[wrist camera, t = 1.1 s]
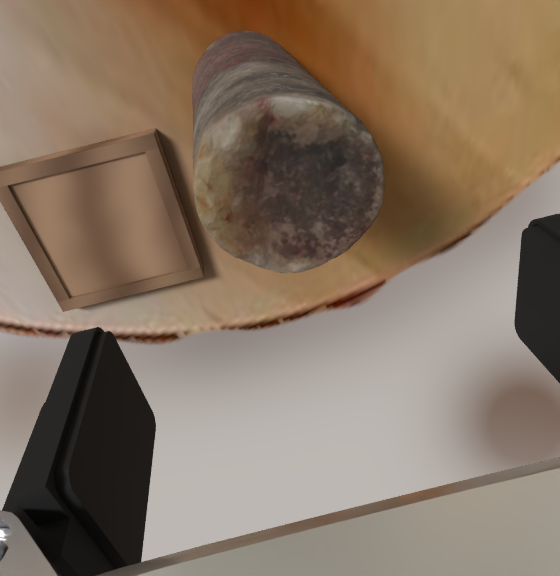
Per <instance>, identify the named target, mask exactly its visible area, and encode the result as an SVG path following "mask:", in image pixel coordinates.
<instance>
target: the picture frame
mask: <svg viewBox="0 0 560 576" xmlns="http://www.w3.org/2000/svg"><path fill="white" fill-rule="evenodd" d="M0 202H1V203H2V205H3V207H4V209H5V210H6V212H7V214H8V216H9V217H10V219H11V221H12V223H13V224H14V226H15V228H16V230H17V231H18V233H19V235H20V237H21V238H22V240H23V242H24V244H25V245H26V247H27V249H28V251H29V253H30V254H31V256H32V258H33V260H34V261H35V263H36V265H37V267H38V268H39V270H40V272H41V274H42V275H43V277H44V279H45V281H46V282H47V284H48V286H49V288H50V289H51V291H52V293H53V295H54V296H55V298H56V300H57V302H58V303H59V305H60V307H61V309H62V311H63V312H64V311H68V310H72V309H76V308H80V307H85V306H89V305H93V304H97V303H101V302H105V301H109V300H113V299H117V298H121V297H125V296H129V295H133V294H137V293H142V292H146V291H150V290H154V289H158V288H162V287H166V286H170V285H174V284H178V283H182V282H186V281H190V280H194V279H199V278H203V277H204V267H203V264H202V261H201V259H200V256H199V253H198V250H197V247H196V244H195V241H194V238H193V235H192V232H191V230H190V227H189V224H188V221H187V218H186V215H185V212H184V209H183V206H182V203H181V201H180V198H179V195H178V192H177V189H176V186H175V183H174V180H173V177H172V174H171V172H170V169H169V166H168V163H167V160H166V157H165V154H164V151H163V148H162V145H161V143H160V140H159V137H158V134H157V131H156V129H152V130H148V131H144V132H140V133H136V134H132V135H128V136H124V137H120V138H115V139H111V140H107V141H103V142H99V143H95V144H91V145H87V146H83V147H79V148H75V149H71V150H67V151H63V152H59V153H55V154H51V155H47V156H43V157H39V158H35V159H31V160H26V161H22V162H18V163H14V164H10V165H6V166H2V167H0Z"/></svg>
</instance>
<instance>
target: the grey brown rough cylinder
mask: <svg viewBox="0 0 560 576" xmlns="http://www.w3.org/2000/svg"><path fill="white" fill-rule="evenodd" d="M192 99H193V169H194V185H193V188H194V195H195V203H196V208H197V213H198V215H199V218H200V221H201V223H202V225H203V228H204V229H205V230H206V231H207V232H208V233H209V235H210V236H211V237H212V239H213V240H214V241H215V242H216V243H217V244H218V245H219V246H220V247H221V248H222V249H224V250H225V251H227V252H228V253H230V254H231V255H232V256H234V257H236V258H240V259H242V260H244V261H247V262H249V263H252V264H254V265H256V266H259V267H261V268H265V269H269V270H272V271H275V272H280V273H287V272H293V273H296V272H303V271H306V270H309V269H313V268H315V267H318V266H320V265H322V264H324V263H326V262H328V261H329V260H331V259H333V258H336V257H338V256H339V255H341V254H342V253H344V252H345V251H347V250H348V249H349V248H350V247H351V246H352V245H353V244H354V243H355V242H356V241H358V240H359V239H360V238H361V236H362V235H363V234H364V233H365V232H366V231H367V230H368V228H369V227H370V226H371V225H372V223H373V222H374V220H375V219H376V217H377V214H378V212H379V210H380V207H381V205H382V202H383V197H384V166H383V161H382V157H381V154H380V152H379V150H378V147H377V145H376V143H375V142H374V140H373V138H372V136H371V134H370V133H369V131H368V130H367V129H366V127H365V126H364V124H363V123H362V122H361V121H360V120H359V119H358V118H357V117H356V116H355V115H353V114H352V113H351V112H350V111H349V110H347V109H346V108H345V107H344V106H343V105H342V104H341V103H340V102H339V101H338V100H337V99H336V98H335V97H333V96H332V95H331V94H330V93H329V92H328V91H327V90H326V89H325V88H324V87H323V86H322V85H321V84H320V83H319V82H318V81H317V80H316V79H314V78H313V77H312V76H311V75H310V74H309V73H308V72H307V71H306V70H305V69H304V68H303V67H302V66H301V65H300V64H299V63H298V62H297V61H296V60H295V59H294V58H293V57H292V56H291V55H290V54H289V53H288V52H287V51H285V50H284V49H283V48H282V47H281V46H280V45H279V44H277V43H276V42H275V41H273V40H272V39H270V38H269V37H267V36H266V35H263V34H260V33H257V32H254V31H237V32H232V33H228V34H226V35H224V36H222V37H220V38H218V39H217V40H215V41H214V42H213V43H212V44H211V45H210V46H209V47H208V48H207V50H206V51H205V52H204V53H203V55H202V56H201V58H200V60H199V62H198V64H197V66H196V69H195V72H194V76H193V93H192Z"/></svg>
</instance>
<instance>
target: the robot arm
mask: <svg viewBox="0 0 560 576" xmlns="http://www.w3.org/2000/svg"><path fill="white" fill-rule="evenodd" d="M520 251H521V252H520V262H519V276H518V287H517V299H516V312H515V329H516V332H517V334H518V336H519V338H520V339H521V340H522V341H523V342H524V344H525V345H526V346H527V347H528V348H529V349H530V350H531V352H532V353H533V354H534V355H535V356H536V357H537V358H538V359H539V360H540V362H541V363H542V364H543V365H544V366H545V367H546V368H547V370H548V371H549V372H550V373H551V374H552V375H553V376H554V377H555V378H556V380H557V381H558V382H559V383H560V214H555V215H551V216H547V217H543V218H539V219H535V220H532V221H531V222H530V224H529V226H528V228H526V229H524V231H523V232H522V238H521V250H520ZM155 431H156V423H155V417H154V414H153V412H152V410H151V408H150V406H149V404H148V402H147V400H146V398H145V396H144V394H143V392H142V390H141V388H140V386H139V384H138V382H137V380H136V378H135V376H134V374H133V373H132V370H131V368H130V366H129V364H128V363H127V361H126V358H125V357H124V355H123V353H122V351H121V349H120V347H119V345H118V343H117V341H116V339H115V337H114V335H113V334H112V333H111V332H110V331H107V332H104V331H103V330H102V329H101V328H99V327H97V328H92V329H88V330H84V331H80V332H76V333H73V334H72V335H71V337H70V339H69V342H68V345H67V347H66V350H65V353H64V355H63V358H62V361H61V363H60V366H59V368H58V371H57V374H56V376H55V379H54V381H53V384H52V387H51V389H50V392H49V395H48V397H47V400H46V402H45V403H44V405H43V407H42V408H41V411H40V413H39V416H38V419H37V421H36V424H35V427H34V429H33V431H32V434H31V437H30V439H29V442H28V445H27V447H26V450H25V452H24V455H23V457H22V461H21V463H20V465H19V468H18V471H17V473H16V476H15V478H14V481H13V483H12V486H11V489H10V491H9V494H8V496H7V499H6V502H5V504H4V507H3V509H2V511H0V576H560V457H558V458H554V459H549V460H545V461H541V462H537V463H533V464H529V465H525V466H521V467H517V468H512V469H508V470H504V471H500V472H496V473H491V474H487V475H483V476H479V477H475V478H471V479H468V480H463V481H459V482H455V483H451V484H447V485H443V486H439V487H435V488H430V489H426V490H422V491H418V492H414V493H411V494H406V495H402V496H399V497H394V498H390V499H386V500H382V501H378V502H374V503H370V504H366V505H362V506H358V507H354V508H350V509H346V510H342V511H338V512H334V513H330V514H326V515H322V516H318V517H314V518H310V519H306V520H302V521H298V522H294V523H290V524H286V525H282V526H278V527H274V528H270V529H266V530H262V531H258V532H255V533H250V534H247V535H243V536H239V537H235V538H231V539H227V540H223V541H219V542H215V543H211V544H208V545H203V546H199V547H196V548H192V549H189V550H185V551H181V552H177V553H174V554H170V555H167V556H163V557H159V558H155V559H152V560H148V561H144V562H141V557H142V548H143V540H144V531H145V521H146V512H147V503H148V494H149V485H150V476H151V467H152V458H153V449H154V440H155Z"/></svg>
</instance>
